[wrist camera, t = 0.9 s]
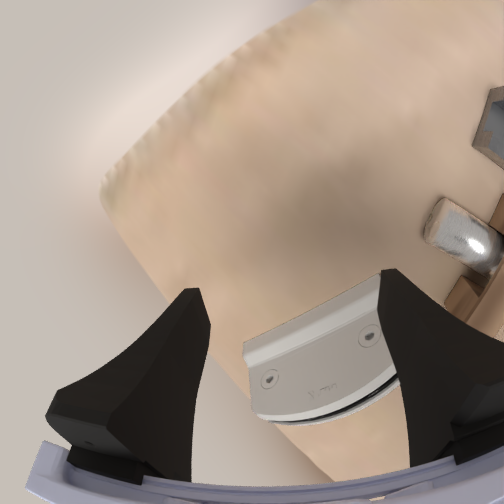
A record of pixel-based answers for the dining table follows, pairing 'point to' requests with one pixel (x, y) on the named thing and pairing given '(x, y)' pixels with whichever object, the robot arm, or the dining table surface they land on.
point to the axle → (464, 238)
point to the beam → (481, 293)
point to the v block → (492, 128)
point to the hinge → (322, 361)
